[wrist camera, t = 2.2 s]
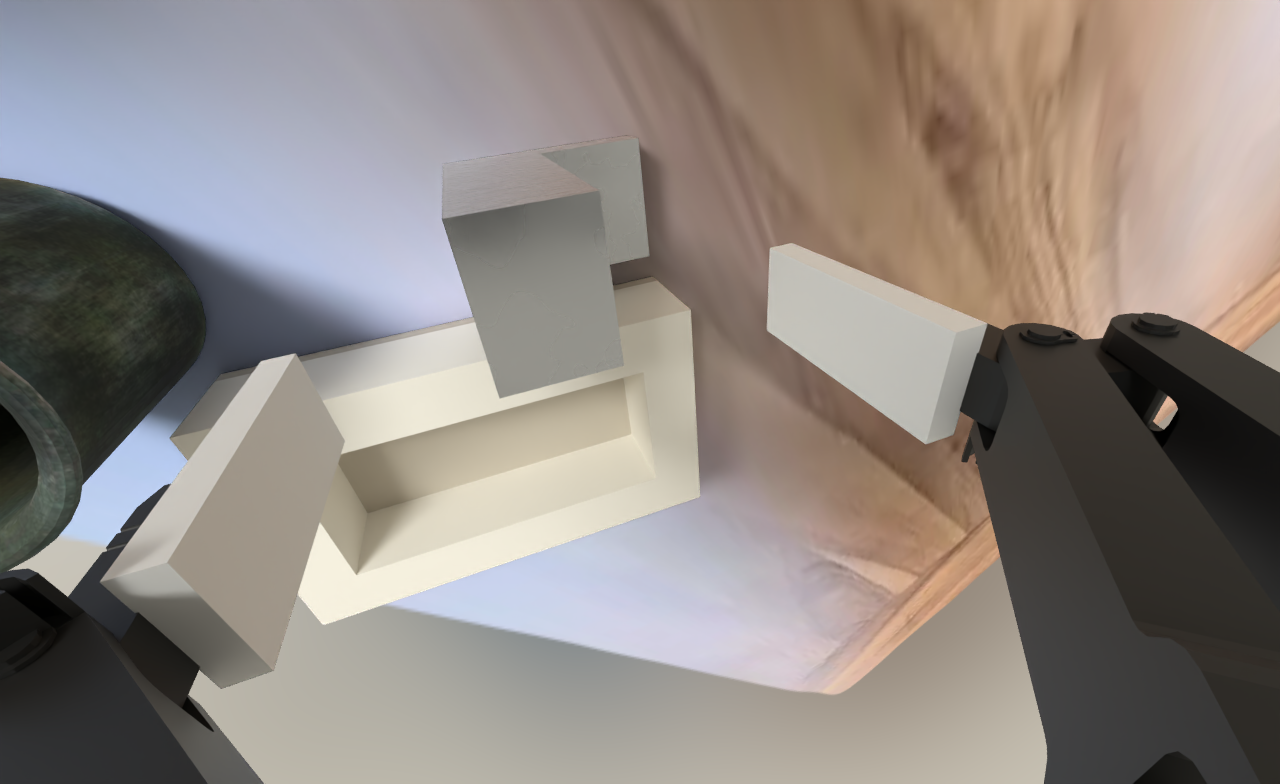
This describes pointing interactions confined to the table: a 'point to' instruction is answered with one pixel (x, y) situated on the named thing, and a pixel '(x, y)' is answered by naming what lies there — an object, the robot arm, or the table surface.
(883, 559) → the table surface
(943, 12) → the table surface
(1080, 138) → the table surface
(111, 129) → the table surface
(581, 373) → the grey l-shaped block
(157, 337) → the mug
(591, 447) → the well block
